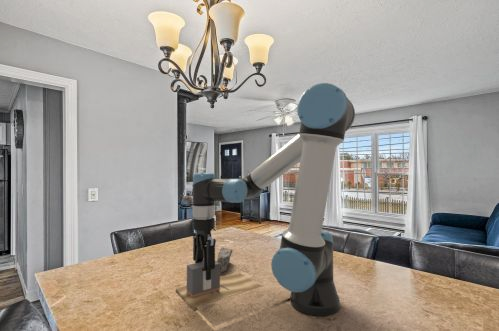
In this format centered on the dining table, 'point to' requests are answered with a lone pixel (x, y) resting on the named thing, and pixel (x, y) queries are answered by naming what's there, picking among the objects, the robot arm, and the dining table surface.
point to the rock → (224, 258)
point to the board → (227, 288)
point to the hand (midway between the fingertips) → (203, 285)
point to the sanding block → (201, 279)
